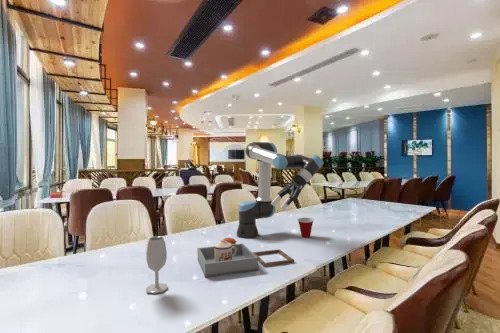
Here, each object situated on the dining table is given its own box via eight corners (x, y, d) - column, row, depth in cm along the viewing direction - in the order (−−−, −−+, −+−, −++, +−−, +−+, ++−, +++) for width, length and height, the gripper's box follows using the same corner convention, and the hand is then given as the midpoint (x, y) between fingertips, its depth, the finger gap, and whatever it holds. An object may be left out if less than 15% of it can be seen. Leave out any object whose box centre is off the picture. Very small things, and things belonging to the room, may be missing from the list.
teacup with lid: (219, 267, 138) (218, 243, 138) (211, 262, 146) (210, 239, 146) (240, 262, 144) (240, 239, 144) (232, 257, 152) (231, 235, 152)
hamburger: (222, 246, 175) (222, 235, 175) (237, 247, 173) (237, 236, 173) (217, 251, 166) (217, 240, 166) (234, 252, 164) (234, 240, 164)
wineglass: (148, 285, 122) (147, 235, 121) (169, 284, 122) (169, 235, 122) (142, 295, 113) (141, 241, 112) (165, 293, 114) (164, 240, 113)
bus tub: (197, 259, 153) (197, 248, 153) (242, 254, 161) (242, 243, 160) (205, 277, 129) (204, 264, 129) (257, 270, 137) (257, 257, 137)
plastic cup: (296, 238, 193) (295, 220, 192) (299, 234, 203) (299, 217, 202) (312, 239, 189) (312, 221, 188) (315, 235, 199) (315, 218, 198)
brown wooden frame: (252, 255, 159) (252, 252, 159) (279, 251, 164) (279, 249, 164) (263, 266, 141) (263, 263, 141) (294, 262, 146) (294, 259, 146)
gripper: (288, 172, 172) (264, 199, 168) (308, 174, 148) (281, 205, 144) (296, 181, 174) (273, 207, 170) (317, 184, 150) (291, 215, 146)
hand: (277, 206), depth 157 cm, fingers open, 13 cm apart
